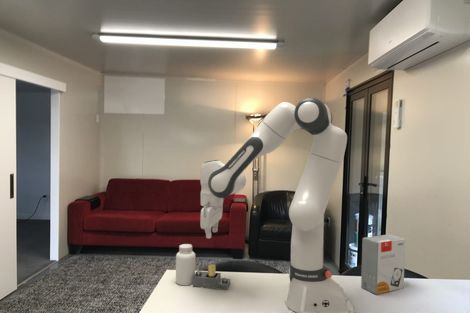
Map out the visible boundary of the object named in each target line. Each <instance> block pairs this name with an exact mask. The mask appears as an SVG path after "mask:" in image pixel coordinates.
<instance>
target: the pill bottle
mask: <svg viewBox="0 0 470 313" xmlns="http://www.w3.org/2000/svg"><path fill="white" fill-rule="evenodd" d="M195 274H196V253H195V252H194V251H193V245H192V244H191V243H190V244H189V243H183V244H180V245H179V246H178V252H177V253H176V254H175V283H176V284H178V285H180V286H188V285H193V276H194V275H195Z"/></svg>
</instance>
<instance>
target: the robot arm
mask: <svg viewBox="0 0 470 313" xmlns="http://www.w3.org/2000/svg"><path fill="white" fill-rule="evenodd" d="M297 129H302V130H304V131H305V132H307V133H309V134H310V135H311V136H312V137H313V141H312V146H311V148H310V152H309V153H308V157H307V160H306V162H305V166H304V169H303V172H302V174H301V177H300V180H299V181H298V185H297V187H296V189H295V191H294V192H295V193H294V195H293V198H292V199H291V202H290V206H289V209H288V216H289V220H290V222H291V224H292V230H291V239H290V263H289V266H288V268H289V269H288V277H289V286H288V288H289V289H288V293H287V298H286V300H285V304H286V306H287V308H288V309H290V310H291V311H293V312H295V313H354V307H353V304H352V303H351V301H350V300H349V299H347V296H346V294H345V291H344V289H343V288H342V286H341V285H340V284H339V283H337V282H336V281H335V280H334V279H333V278H332V277H333V276H332V273H331V271H330V269H329V267H328V266H327V265H324V226H325V225H324V224H325V219H324V218H325V211H326V209H327V207H328V203H329V200H330V197H331V194H332V192H333V188H334V185H335V182H336V179H337V177H338V175H339V171H340V168H341V165H342V163H343V159H344V157H345V152H346V148H347V143H348V135H347V133H346V132H345V130H344V129H342V128H340V127H338V126H336V125H334V124H333V114H332V112H331V110H330V108H329V107H328V105H327V104H326V103H324V102H323V101H322V100H321V99H319V98H316V97H307V98H304V99H301V100H300V101H299V102H298V103H297V104H296V105H295V104H293V103H291V102H287V101H282V102H280V103H279V104H277V105H276V106H275V107H274V108H273V109H272V110H270V111H269V112H268V114H267V115H266V116H265V117H264V118H263V119H262V120H261V122H260V123H259V124H258V125H257V127H256V128H255V130H254V131H253V132H252V134H251V135H250V136H249V138H248V139H247V140H246V141H245V143H243V145H242V146H241V147H240V148H239V149H238V150H237V151H236V153H234V155H233V156H232V157H231V158H230V159H229V160H228V161H227V162H226V163H224V162H222V161H221V160H220V159H213V160H208V161H205V162H203V163H202V165H201V167H200V182H199V183H200V186H201V189H200V190H201V191H200V206H202V208H201V210H200V220H199V221H200V222H199V223H200V228H201V230H204V232H205V238H206V239H211V238H212V233H217V232H218V227H219V221H220V220H221V219H222V217H223V212H224V210H223V209H224V207H223V206H224V205H223V204H224V201H225V198H227V197H229V196H231V195H234V194H236V193H239V192H241V190H243V189H244V188H245V186H246V182H247V179H246V176H245V173H244V172H245V171H246V169H247V168H248V167H249V166H250V165H251V164H252V163H253V162H254V161H255V160H257V159H258V158H261V157H262V156H265V155H267V154H270V153H273V152H274V151H275V150H277V149H278V148H279V147H280V146H281V145H282V144H283V143H284V142H285V141H286V139H288V137H289V136H290V135H291V133H293V132H294V131H295V130H297Z"/></svg>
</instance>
